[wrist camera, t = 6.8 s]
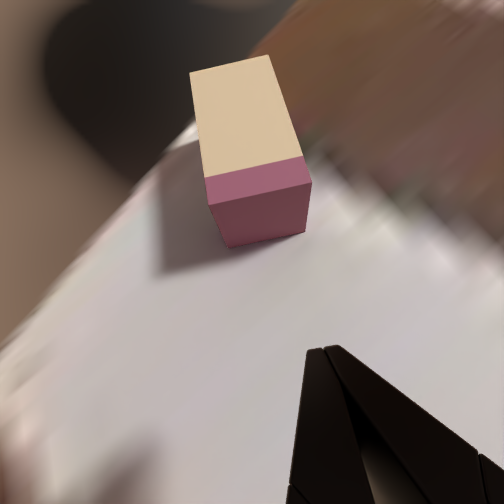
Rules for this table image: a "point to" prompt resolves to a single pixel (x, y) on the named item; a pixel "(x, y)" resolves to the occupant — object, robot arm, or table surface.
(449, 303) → the table surface
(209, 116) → the marked block
